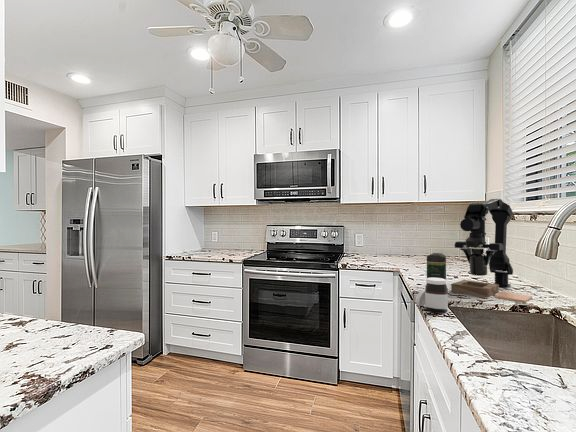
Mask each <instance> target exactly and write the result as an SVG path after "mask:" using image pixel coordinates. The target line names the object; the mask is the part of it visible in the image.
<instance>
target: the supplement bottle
mask: <svg viewBox="0 0 576 432" xmlns="http://www.w3.org/2000/svg"><path fill="white" fill-rule="evenodd" d="M484 250H485V248H474V247H471V255H470V256H469V258H470V264H469V273H470V275H473V276H482V277H484V276H487V275H488V265H486V254H485V251H484Z"/></svg>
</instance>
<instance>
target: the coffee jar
mask: <svg viewBox="0 0 576 432" xmlns="http://www.w3.org/2000/svg"><path fill="white" fill-rule="evenodd" d="M427 278H443V279H446V280H447V256H446V255H445V254H443V253H439V252H432V253H430V254H428V255H427V256H426V279H427Z"/></svg>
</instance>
